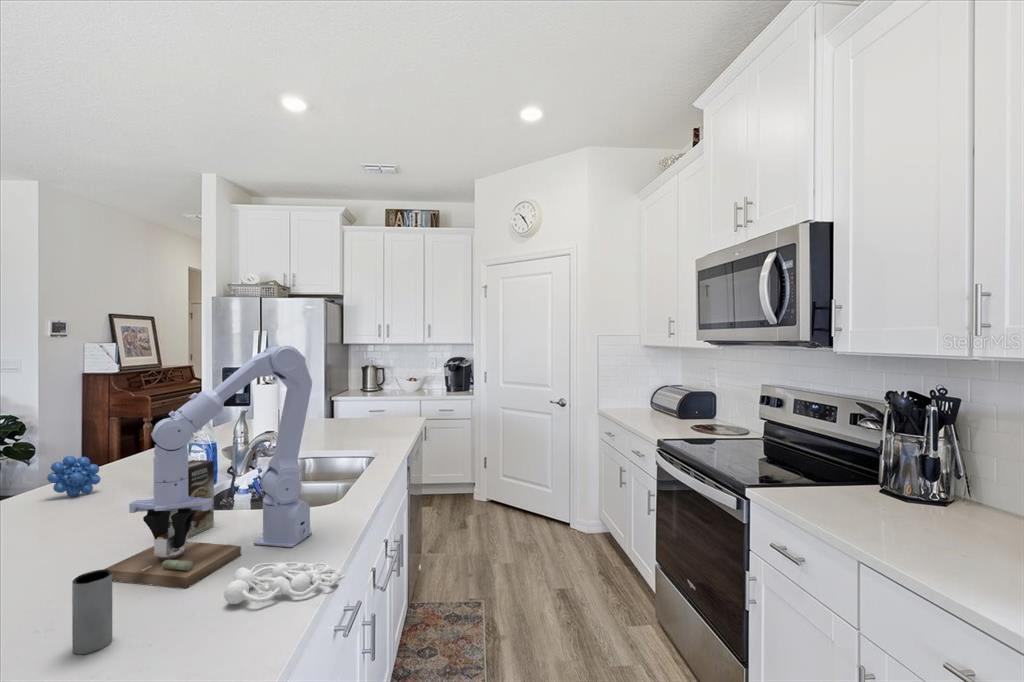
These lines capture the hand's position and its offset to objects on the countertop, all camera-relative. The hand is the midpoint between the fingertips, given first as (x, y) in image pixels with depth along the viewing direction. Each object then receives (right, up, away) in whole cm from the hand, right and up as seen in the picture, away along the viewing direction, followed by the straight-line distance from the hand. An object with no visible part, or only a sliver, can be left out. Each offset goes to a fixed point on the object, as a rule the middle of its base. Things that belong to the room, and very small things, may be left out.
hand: (171, 546), depth 99 cm
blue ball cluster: (-58, -4, +43) cm, 72 cm away
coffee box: (-8, -4, +18) cm, 20 cm away
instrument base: (+1, -4, 0) cm, 4 cm away
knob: (0, -2, 0) cm, 2 cm away
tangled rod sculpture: (+26, -5, -7) cm, 27 cm away
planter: (+6, -4, -25) cm, 26 cm away
